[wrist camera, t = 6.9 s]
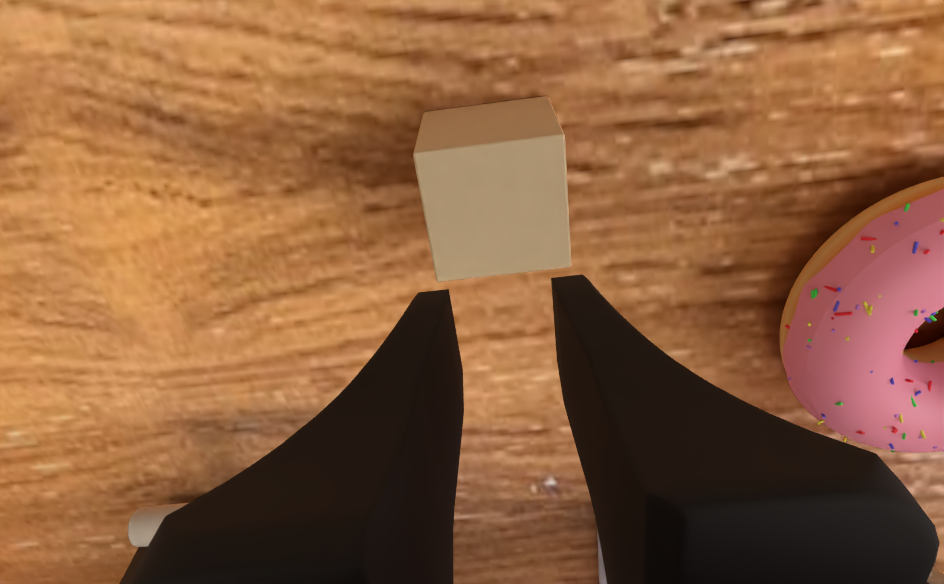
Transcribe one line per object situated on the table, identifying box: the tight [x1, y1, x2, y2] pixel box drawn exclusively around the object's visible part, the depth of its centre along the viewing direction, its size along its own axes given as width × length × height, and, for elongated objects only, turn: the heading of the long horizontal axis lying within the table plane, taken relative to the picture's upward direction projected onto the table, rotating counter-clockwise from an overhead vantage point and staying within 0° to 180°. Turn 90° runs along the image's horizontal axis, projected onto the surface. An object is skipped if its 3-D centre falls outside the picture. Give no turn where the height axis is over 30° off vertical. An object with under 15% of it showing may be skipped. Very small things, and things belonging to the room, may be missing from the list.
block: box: [413, 96, 571, 282], centre depth 19 cm, size 4×4×4 cm
